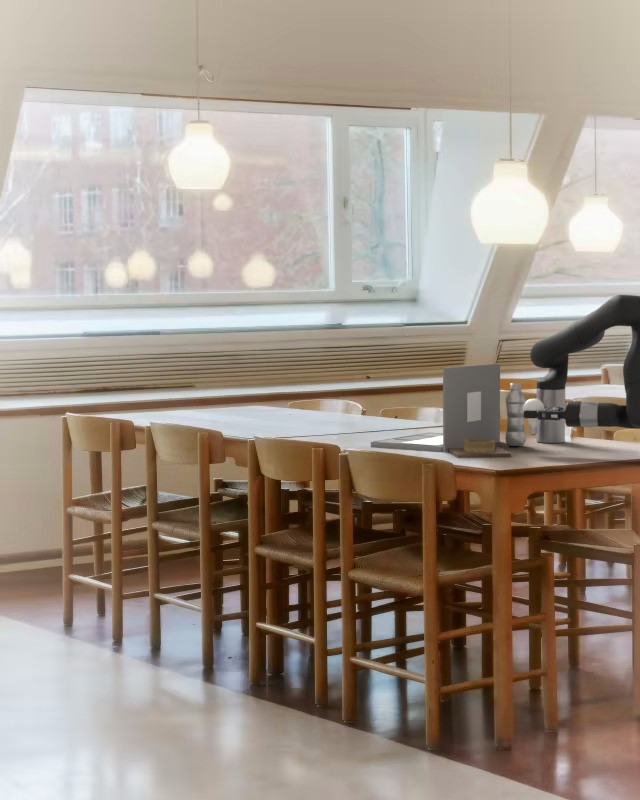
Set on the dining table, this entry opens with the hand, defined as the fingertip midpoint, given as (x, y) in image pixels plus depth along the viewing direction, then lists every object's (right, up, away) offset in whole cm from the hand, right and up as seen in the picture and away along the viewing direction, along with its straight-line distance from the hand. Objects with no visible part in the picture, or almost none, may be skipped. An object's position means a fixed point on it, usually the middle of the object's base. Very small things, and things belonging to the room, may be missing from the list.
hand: (525, 413), depth 389 cm
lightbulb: (+2, -7, 0) cm, 7 cm away
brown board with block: (-14, -12, +2) cm, 18 cm away
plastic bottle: (0, -11, +22) cm, 24 cm away
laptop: (-24, -11, +30) cm, 40 cm away
